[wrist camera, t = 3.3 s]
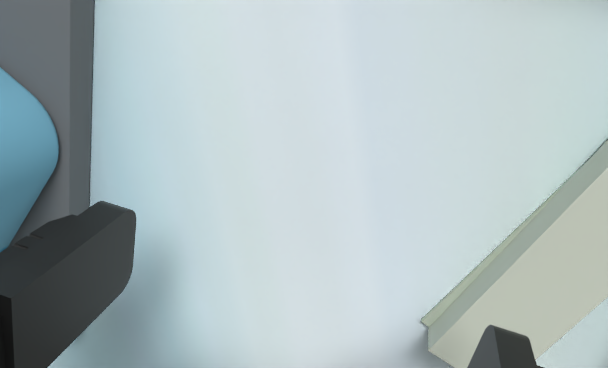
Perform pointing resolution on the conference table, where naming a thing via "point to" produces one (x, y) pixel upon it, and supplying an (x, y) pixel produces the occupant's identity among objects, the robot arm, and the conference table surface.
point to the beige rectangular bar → (534, 273)
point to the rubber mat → (54, 92)
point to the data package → (22, 154)
